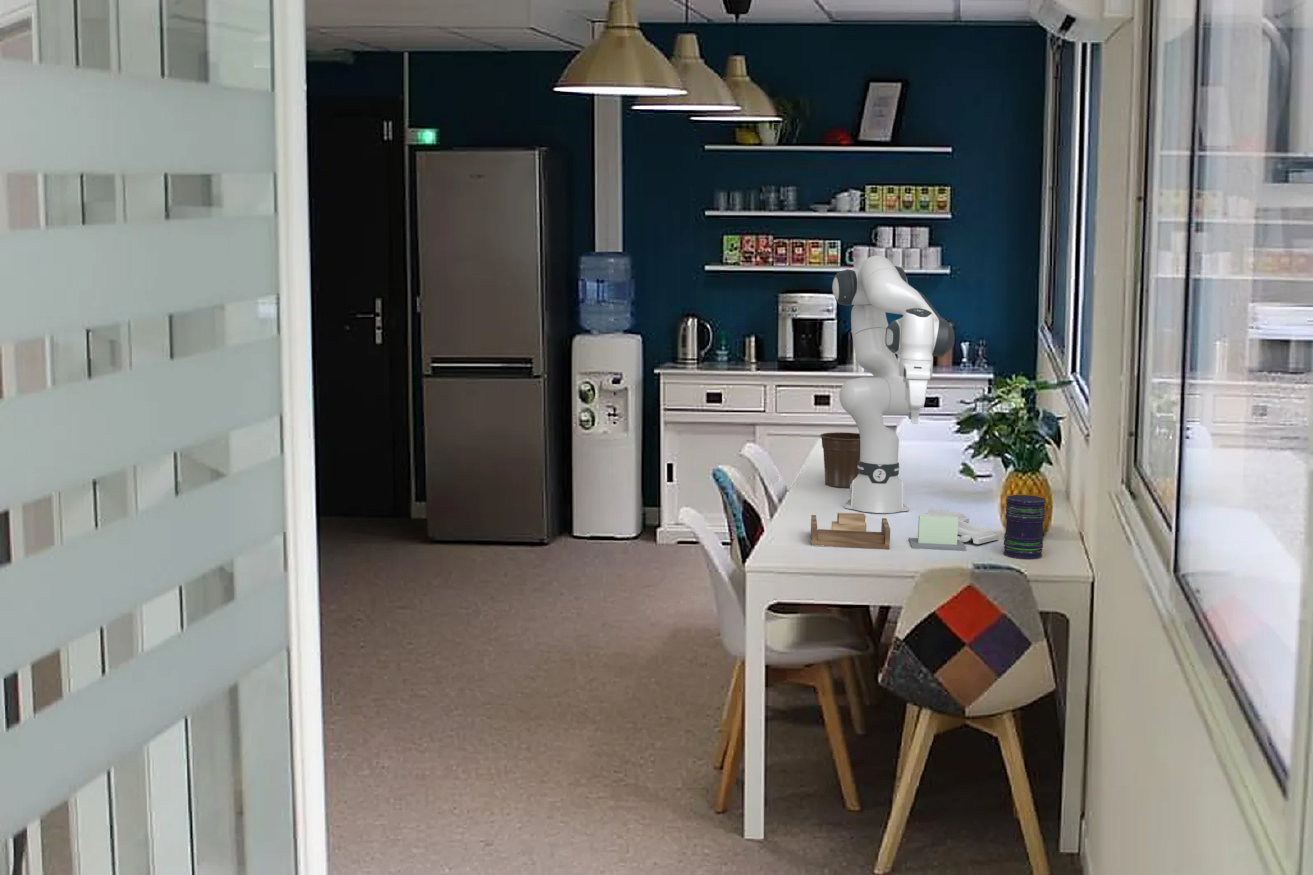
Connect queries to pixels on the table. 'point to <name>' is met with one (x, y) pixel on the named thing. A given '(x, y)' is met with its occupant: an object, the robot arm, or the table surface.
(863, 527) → the offcut low
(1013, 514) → the storage jar
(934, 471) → the table surface
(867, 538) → the rack
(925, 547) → the mat
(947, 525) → the wide pale green sheet
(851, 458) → the plant pot
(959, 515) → the molding
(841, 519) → the offcut top
